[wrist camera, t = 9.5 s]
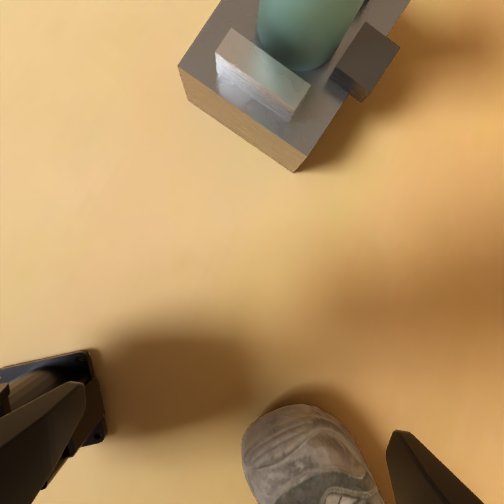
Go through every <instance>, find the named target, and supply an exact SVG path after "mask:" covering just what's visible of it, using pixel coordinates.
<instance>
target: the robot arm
mask: <svg viewBox="0 0 504 504" xmlns="http://www.w3.org/2000/svg"><path fill="white" fill-rule="evenodd" d="M79 356H81V357H83V361H81V360H79ZM0 377H1V379H0V504H31V503H32V502H33V500H34V499H35V497H36V496H37V494H38V493H39V491H40V490H43V489H45V488H46V487H47V486H48V484H49V483H50V482H51V480H52V479H53V478H54V476H55V475H56V474H57V472H58V471H59V470H60V469H61V467H62V466H63V465H64V463H65V462H66V461H67V459H68V458H70V457H73V456H74V455H75V454H76V452H77V451H78V450H79V448H80V447H84V446H88V445H92V444H96V443H100V442H102V441H103V440H104V438H105V437H106V435H107V428H106V424H105V419H104V414H105V409H104V405H103V401H102V397H101V392H100V388H99V384H98V380H97V379H96V378H95V376H94V372H93V368H92V364H91V359H90V355H89V353H88V352H87V351H84V350H81V351H76V352H71V353H67V354H62V355H58V356H53V357H49V358H44V359H40V360H35V361H31V362H26V363H21V364H17V365H12V366H8V367H3V368H0ZM96 432H99V433H100V434H101V436H98V435H97V434H96ZM386 460H387V465H388V469H389V474H390V478H391V482H392V487H393V491H394V495H395V500H396V504H484V503H483V502H482V501H481V500H480V499H479V498H478V497H477V496H476V495H475V494H474V493H473V492H472V491H471V490H470V489H469V488H467V487H466V486H465V485H464V484H463V483H462V482H461V481H460V480H459V479H458V478H457V477H456V476H455V475H454V474H453V473H452V472H451V471H450V470H449V469H448V468H447V467H446V466H445V465H444V464H443V463H442V462H441V461H440V460H439V459H437V458H436V457H435V456H434V455H433V454H432V453H431V452H430V451H429V450H428V449H427V448H426V447H425V446H424V445H423V444H422V443H421V442H420V441H419V440H418V439H417V438H416V437H415V436H414V435H413V434H411V433H410V432H408V431H401V430H395V431H393V433H392V436H391V439H390V441H389V444H388V447H387V450H386Z"/></svg>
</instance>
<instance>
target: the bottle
mask: <svg viewBox="0 0 504 504" xmlns="http://www.w3.org/2000/svg"><path fill="white" fill-rule="evenodd" d="M363 2H364V0H260V2H259V10H258V18H257V31H258V36H259V40H260V42H261V44H262V46H263V48H264V50H265V51H266V53H267V54H268V55H270V56H271V57H273V58H274V59H275V60H277V61H278V62H279V63H281V64H282V65H284V66H285V67H286V68H288V69H291V70H296V71H307V70H312V69H315V68H317V67H320V66H321V65H323V64H324V63H326V62H327V61H328V60H329V59H330V58H331V57H332V56H333V54H334V53H335V52H336V50H337V48H338V46H339V44H340V43H341V41H342V39H343V37H344V36H345V34H346V32H347V30H348V29H349V27H350V25H351V23H352V21H353V20H354V18H355V16H356V14H357V13H358V11H359V9H360V7H361V6H362V4H363Z"/></svg>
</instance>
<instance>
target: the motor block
mask: <svg viewBox="0 0 504 504" xmlns="http://www.w3.org/2000/svg"><path fill="white" fill-rule="evenodd" d="M259 2H260V0H221V1H220V3H219V4H218V6H217V7H216V9H215V10H214V12H213V13H212V15H211V16H210V18H209V19H208V21H207V22H206V24H205V25H204V27H203V28H202V30H201V31H200V33H199V34H198V36H197V37H196V39H195V40H194V42H193V43H192V45H191V46H190V48H189V49H188V51H187V52H186V54H185V55H184V57H183V58H182V60H181V61H180V63H179V64H178V69H179V72H180V76H181V79H182V82H183V86H184V89H185V92H186V95H187V99H188V100H189V101H190V102H191V103H193V104H194V105H196V106H197V107H199V108H200V109H202V110H203V111H204V112H206V113H207V114H209V115H210V116H212V117H213V118H215V119H216V120H217V121H219V122H220V123H222V124H223V125H225V126H226V127H228V128H229V129H230V130H232V131H233V132H235V133H236V134H238V135H239V136H241V137H242V138H243V139H245V140H246V141H248V142H249V143H251V144H252V145H253V146H255V147H256V148H258V149H259V150H261V151H262V152H264V153H265V154H266V155H268V156H269V157H271V158H272V159H274V160H275V161H277V162H278V163H279V164H281V165H282V166H284V167H285V168H287V169H288V170H290V171H291V172H292V173H294V171H295V170H296V169H297V168H298V167H299V166H300V165H301V163H302V162H303V161H304V160H305V159H306V158H307V157H308V155H309V154H310V152H311V150H312V149H313V147H314V146H315V144H316V143H317V141H318V140H319V138H320V137H321V135H322V134H323V132H324V131H325V129H326V128H327V126H328V125H329V123H330V122H331V120H332V119H333V117H334V116H335V114H336V113H337V111H338V110H339V108H340V106H341V105H342V103H343V102H344V100H345V99H346V97H347V96H348V94H350V95H351V96H353V97H354V98H356V99H357V100H358V101H360V102H362V101H363V100H364V99H365V98H366V97H367V96H368V95H369V94H370V93H371V91H372V90H373V88H374V87H375V85H376V84H377V82H378V80H379V79H380V77H381V76H382V74H383V73H384V71H385V70H386V68H387V67H388V65H389V64H390V62H391V61H392V59H393V58H394V56H395V55H396V53H397V52H398V50H399V49H400V47H399V46H398V45H396V44H395V43H394V42H392V41H391V40H390V39H388V38H387V35H388V34H389V32H390V31H391V29H392V28H393V26H394V25H395V23H396V22H397V20H398V19H399V17H400V15H401V14H402V12H403V11H404V9H405V8H406V6H407V5H408V3H409V2H410V0H364V2H363V4H362V6H361V7H360V9H359V11H358V13H357V14H356V16H355V18H354V20H353V21H352V23H351V25H350V27H349V29H348V30H347V32H346V34H345V36H344V37H343V39H342V41H341V43H340V44H339V46H338V48H337V50H336V52H335V53H334V54H333V56H332V57H331V58H330V59H329V60H328V61H327V62H326V63H324V64H323V65H321V66H320V67H317V68H315V69H312V70H307V71H296V70H291V69H288V68H286V67H285V66H284V65H282V64H281V63H279V62H278V61H277V60H275V59H274V58H273V57H271V56H270V55H268V54H267V53H266V51H265V50H264V48H263V46H262V44H261V42H260V40H259V36H258V31H257V18H258V10H259Z"/></svg>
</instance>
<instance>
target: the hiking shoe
mask: <svg viewBox="0 0 504 504" xmlns="http://www.w3.org/2000/svg"><path fill="white" fill-rule="evenodd" d="M242 465H243V469H244V473H245V477H246V480H247V482H248V484H249V487H250V489H251V491H252V493H253V495H254V497H255V498H256V500H257V502H258V504H385V502H384V500H383V498H382V496H381V494H380V492H379V490H378V487H377V485H376V483H375V480H374V478H373V476H372V473H371V472H370V470H369V468H368V466H367V464H366V462H365V460H364V458H363V455H362V453H361V451H360V450H359V448H358V446H357V444H356V442H355V440H354V439H353V437H352V436H351V434H350V433H349V432H348V431H347V430H346V429H345V428H344V427H343V425H342V424H341V423H340V422H339V421H338V420H337V419H336V418H334V417H333V416H332V415H331V414H329V413H324V412H323V411H322V410H320V409H319V408H318V407H315V406H309V405H306V404H303V403H302V404H295V405H288V406H283V407H281V408H278V409H276V410H273V411H271V412H268V413H266V414H265V415H263V416H261V417H260V418H259V419H257V420H256V421H255V422H253V423H252V424H251V425H250V427H249V428H248V429H247V431H246V432H245V433H244V436H243V439H242Z"/></svg>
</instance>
